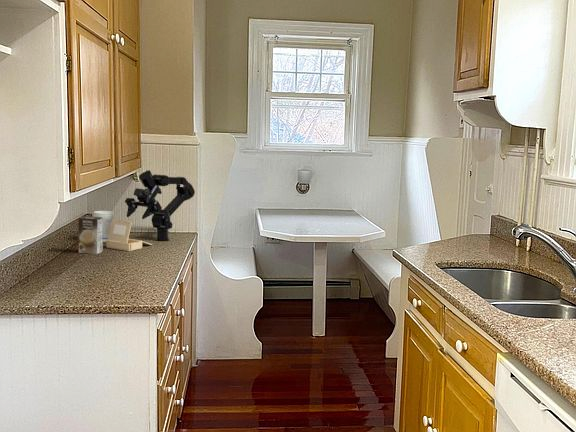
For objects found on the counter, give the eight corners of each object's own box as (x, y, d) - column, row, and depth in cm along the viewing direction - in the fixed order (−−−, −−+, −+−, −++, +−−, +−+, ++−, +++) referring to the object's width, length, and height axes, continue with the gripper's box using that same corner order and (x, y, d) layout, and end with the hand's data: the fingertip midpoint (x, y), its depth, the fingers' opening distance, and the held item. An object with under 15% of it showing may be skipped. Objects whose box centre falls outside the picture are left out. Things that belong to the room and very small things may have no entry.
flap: (112, 219, 284) (111, 219, 284) (131, 221, 279) (131, 221, 278) (108, 239, 283) (107, 239, 283) (127, 242, 277) (126, 242, 277)
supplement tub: (89, 241, 298) (88, 212, 296) (101, 238, 307) (101, 209, 305) (105, 243, 295) (105, 213, 293) (117, 240, 304) (117, 211, 302)
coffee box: (77, 253, 270) (77, 217, 268) (84, 250, 277) (83, 215, 274) (97, 254, 270) (97, 218, 267) (103, 251, 276) (102, 216, 274)
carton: (131, 242, 300) (131, 234, 299) (154, 245, 293) (154, 238, 292) (105, 247, 284) (105, 239, 284) (129, 251, 277) (129, 243, 277)
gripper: (128, 181, 294) (111, 204, 285) (159, 184, 287) (143, 207, 278) (137, 197, 302) (122, 220, 293) (168, 199, 295) (153, 223, 285)
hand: (134, 217), depth 287 cm, fingers open, 9 cm apart
